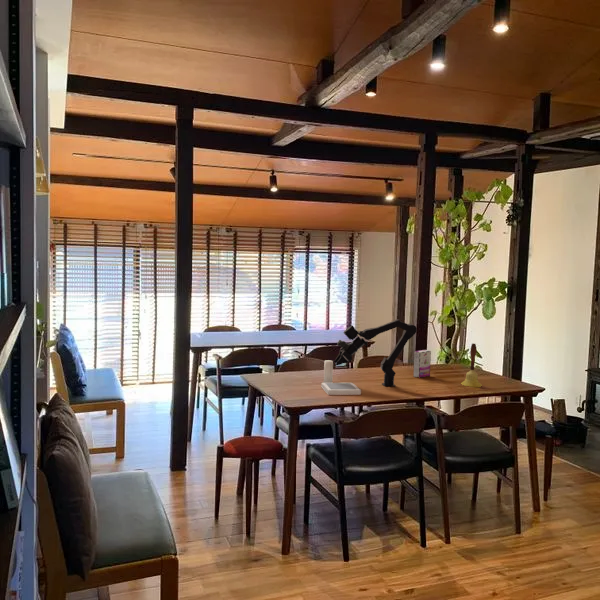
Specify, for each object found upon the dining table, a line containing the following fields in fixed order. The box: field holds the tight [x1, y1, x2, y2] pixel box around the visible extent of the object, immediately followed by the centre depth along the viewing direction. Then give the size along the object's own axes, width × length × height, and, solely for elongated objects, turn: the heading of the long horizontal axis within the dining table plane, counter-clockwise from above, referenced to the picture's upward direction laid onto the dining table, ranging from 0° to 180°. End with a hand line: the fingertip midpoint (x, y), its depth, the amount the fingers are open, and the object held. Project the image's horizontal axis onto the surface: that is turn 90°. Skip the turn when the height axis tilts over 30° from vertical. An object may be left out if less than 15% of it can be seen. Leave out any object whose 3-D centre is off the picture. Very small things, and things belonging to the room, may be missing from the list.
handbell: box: [460, 343, 483, 388], centre depth 336 cm, size 12×12×25 cm
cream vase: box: [323, 359, 334, 383], centre depth 326 cm, size 5×5×13 cm
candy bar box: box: [413, 349, 432, 379], centre depth 356 cm, size 11×5×16 cm, turn 129°
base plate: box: [320, 382, 362, 396], centre depth 309 cm, size 18×18×3 cm
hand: (335, 363), depth 326 cm, fingers open, 9 cm apart
